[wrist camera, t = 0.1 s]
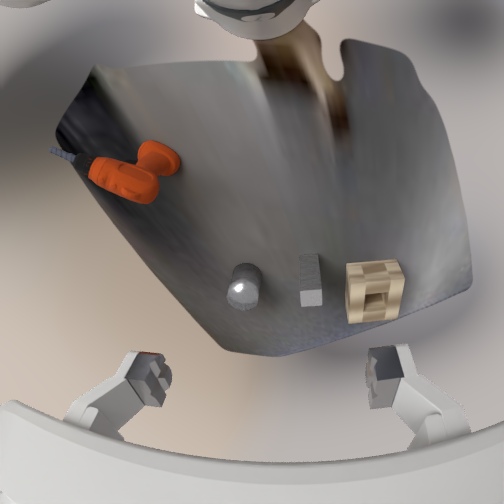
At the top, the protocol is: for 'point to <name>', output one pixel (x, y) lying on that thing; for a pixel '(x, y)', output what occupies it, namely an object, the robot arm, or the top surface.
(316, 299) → the square bit
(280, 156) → the top surface
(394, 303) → the socket block
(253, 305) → the round bit
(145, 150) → the toy drill
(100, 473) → the robot arm
